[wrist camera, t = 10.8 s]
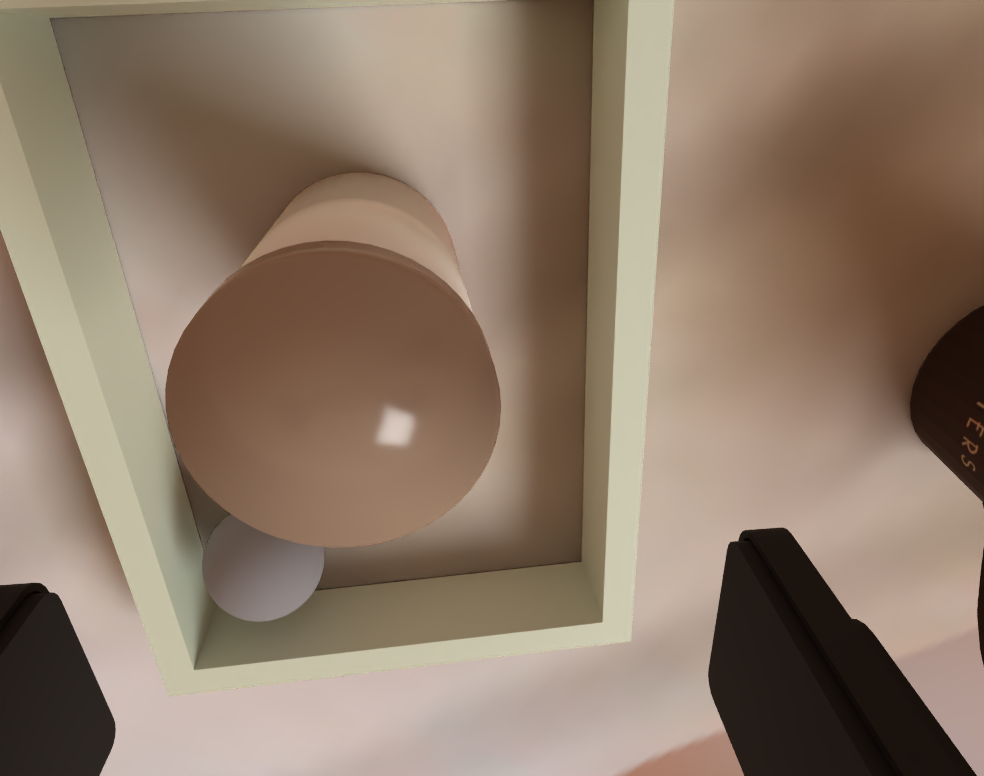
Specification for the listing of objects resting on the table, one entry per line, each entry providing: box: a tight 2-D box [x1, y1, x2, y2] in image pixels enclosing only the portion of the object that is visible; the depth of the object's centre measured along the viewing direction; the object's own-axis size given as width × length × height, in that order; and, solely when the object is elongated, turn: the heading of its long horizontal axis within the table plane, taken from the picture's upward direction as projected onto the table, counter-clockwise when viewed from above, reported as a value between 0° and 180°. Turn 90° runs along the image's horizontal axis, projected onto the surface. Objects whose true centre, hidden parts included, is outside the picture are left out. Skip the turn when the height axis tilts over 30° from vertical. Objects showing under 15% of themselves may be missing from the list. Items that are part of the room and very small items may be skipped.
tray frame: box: [0, 0, 674, 697], centre depth 19 cm, size 15×20×3 cm
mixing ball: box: [202, 514, 325, 622], centre depth 21 cm, size 4×4×4 cm
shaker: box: [165, 172, 501, 548], centre depth 15 cm, size 5×5×9 cm
